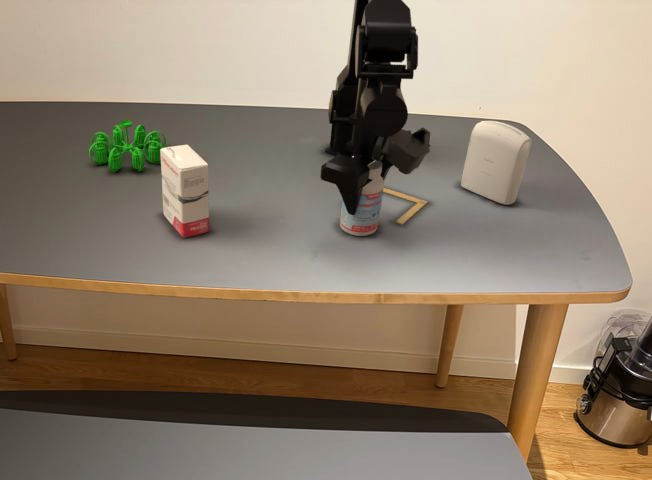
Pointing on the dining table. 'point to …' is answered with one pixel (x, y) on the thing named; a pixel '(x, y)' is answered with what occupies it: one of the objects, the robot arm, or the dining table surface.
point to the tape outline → (415, 208)
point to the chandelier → (127, 147)
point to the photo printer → (496, 161)
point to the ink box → (185, 190)
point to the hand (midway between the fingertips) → (361, 206)
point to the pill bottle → (365, 206)
